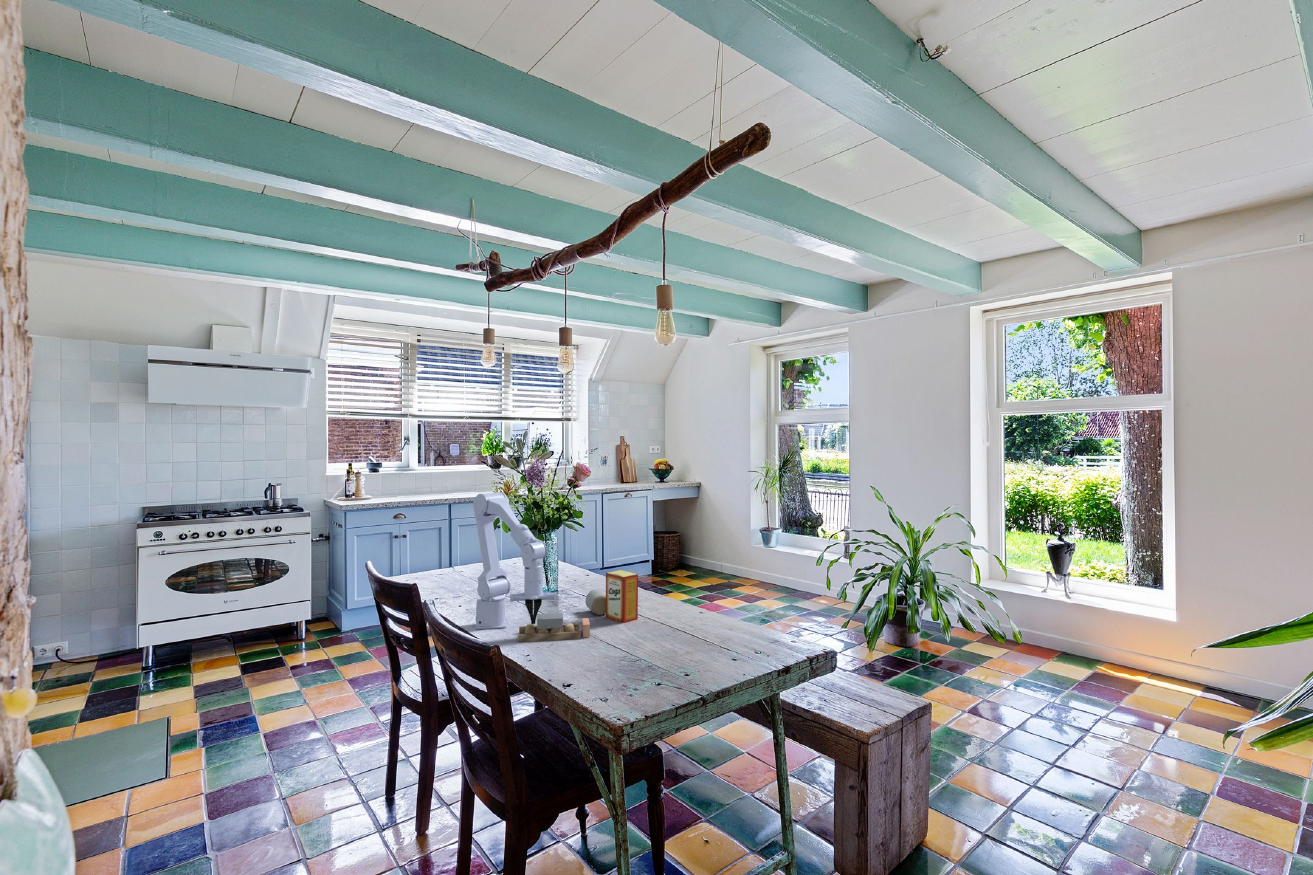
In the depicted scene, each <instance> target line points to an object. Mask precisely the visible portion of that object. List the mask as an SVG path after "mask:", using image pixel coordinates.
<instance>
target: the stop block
mask: <svg viewBox="0 0 1313 875" xmlns="http://www.w3.org/2000/svg"><path fill="white" fill-rule="evenodd" d="M581 633H582V637H583V638H590V637H591V624H590V620H589V617H583V618H581Z"/></svg>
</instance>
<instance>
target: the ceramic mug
mask: <svg viewBox="0 0 1313 875" xmlns="http://www.w3.org/2000/svg"><path fill="white" fill-rule="evenodd" d="M585 605H586V607H587V608H588V610H590V611H591V612H592V613H593V614H594V615H598V616H602V615H603V616H604V615H606V593H605V592H604V591H603V590H601V589H598V588H595V589H592V590H590V591H589V592H588V593H587V594H586V597H585Z"/></svg>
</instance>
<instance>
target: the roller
mask: <svg viewBox="0 0 1313 875" xmlns="http://www.w3.org/2000/svg"><path fill="white" fill-rule="evenodd" d="M565 624H566V625H565V631H564V632H575V629H574V625H573V624H574V623H572V622H568V623H565Z"/></svg>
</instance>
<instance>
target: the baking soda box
mask: <svg viewBox="0 0 1313 875" xmlns="http://www.w3.org/2000/svg"><path fill="white" fill-rule="evenodd" d="M638 588H639V574H638V573H634V572H630V571H626V570H621V569H619V570H612V571H608V572H605V595H606V613H605V618H606V619H609V620H612V621H615V622H618V623H621V624H626V623H630V622H633V621H636V620H638V619H639V617H638V616H639V612H638V611H639V605H638V604H639V589H638Z"/></svg>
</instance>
